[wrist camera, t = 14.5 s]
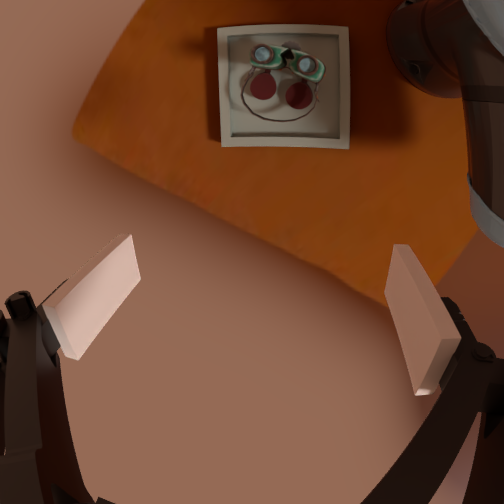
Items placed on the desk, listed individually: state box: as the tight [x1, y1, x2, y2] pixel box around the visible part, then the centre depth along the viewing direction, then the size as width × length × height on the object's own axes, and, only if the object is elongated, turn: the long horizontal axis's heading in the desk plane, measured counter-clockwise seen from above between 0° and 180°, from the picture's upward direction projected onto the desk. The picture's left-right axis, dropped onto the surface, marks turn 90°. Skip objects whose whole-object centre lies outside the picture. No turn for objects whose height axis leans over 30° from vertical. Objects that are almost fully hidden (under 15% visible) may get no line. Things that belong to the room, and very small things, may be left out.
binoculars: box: [240, 41, 326, 122], centre depth 31 cm, size 9×11×10 cm
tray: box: [217, 24, 350, 149], centre depth 35 cm, size 16×16×2 cm
